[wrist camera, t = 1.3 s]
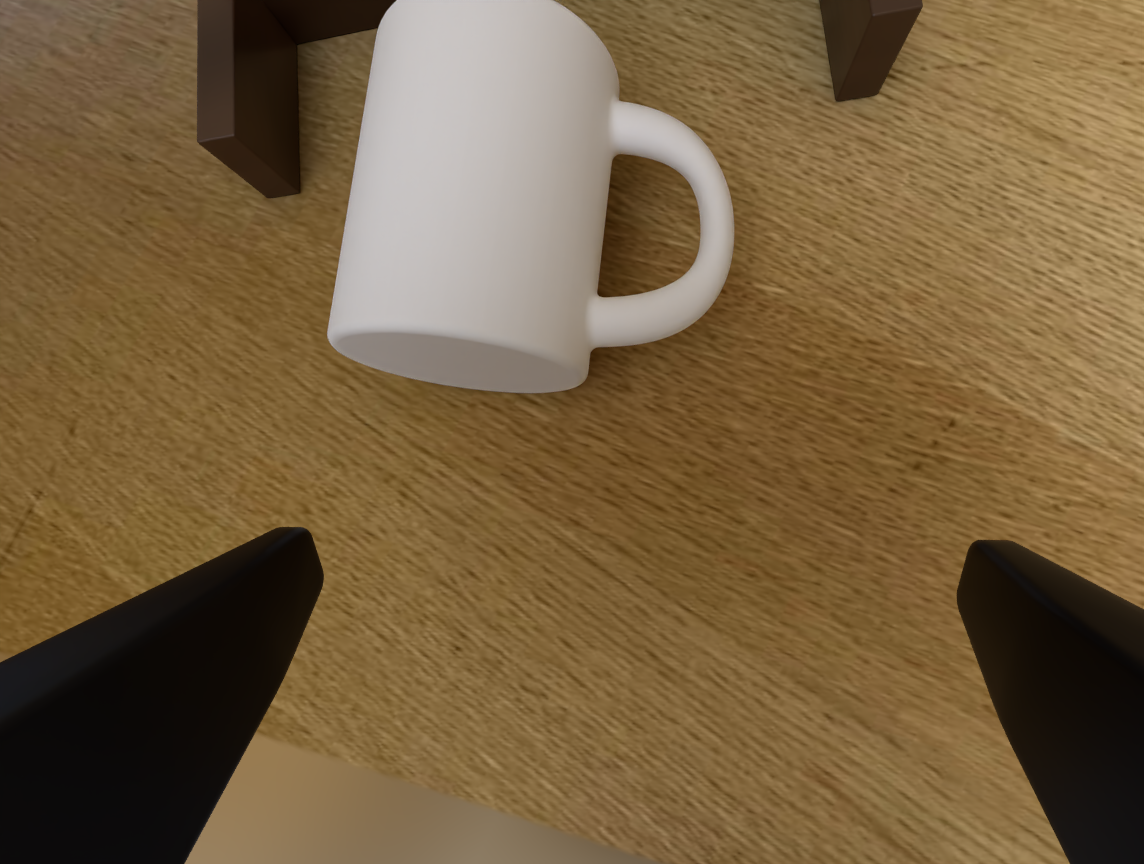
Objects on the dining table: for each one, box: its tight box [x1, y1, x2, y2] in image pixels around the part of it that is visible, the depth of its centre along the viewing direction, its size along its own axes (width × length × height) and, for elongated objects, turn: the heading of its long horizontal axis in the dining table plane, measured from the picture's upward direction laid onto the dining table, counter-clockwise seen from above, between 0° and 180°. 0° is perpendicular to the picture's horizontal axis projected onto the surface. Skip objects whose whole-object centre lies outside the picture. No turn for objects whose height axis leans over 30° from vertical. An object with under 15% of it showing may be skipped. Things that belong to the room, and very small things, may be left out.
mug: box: [327, 0, 734, 393], centre depth 19 cm, size 12×10×8 cm
